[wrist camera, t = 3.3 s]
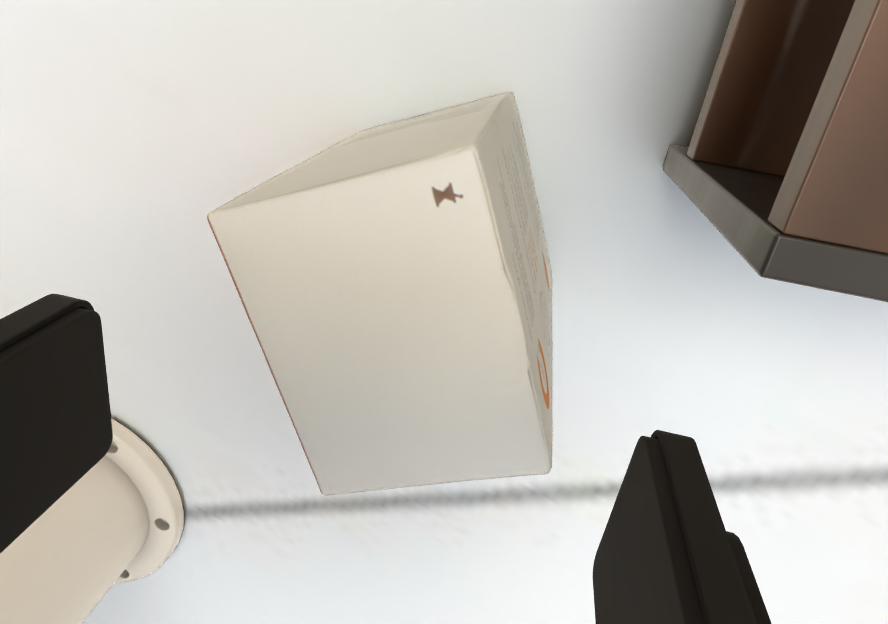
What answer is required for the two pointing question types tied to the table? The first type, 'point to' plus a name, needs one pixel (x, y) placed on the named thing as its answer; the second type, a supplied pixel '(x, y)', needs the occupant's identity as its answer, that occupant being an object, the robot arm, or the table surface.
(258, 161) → the table surface
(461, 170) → the small box
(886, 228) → the rack
